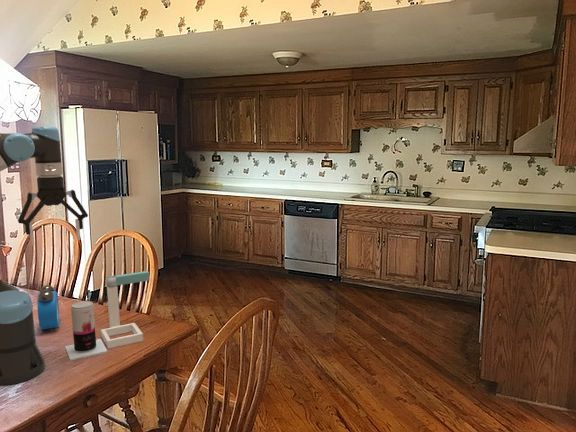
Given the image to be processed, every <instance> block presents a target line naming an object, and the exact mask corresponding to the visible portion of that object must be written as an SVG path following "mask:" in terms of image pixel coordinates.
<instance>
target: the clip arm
mask: <svg viewBox="0 0 576 432" xmlns="http://www.w3.org/2000/svg"><path fill="white" fill-rule="evenodd" d="M147 281H150V272H149V271H148V270H143V271H139V272H130V273H124V274H117V275H108V276H106V277H105V283H106V285H105V286H106V288H107V287H113V286H117V287H118V286H122V285H128V284H136V283H141V282H147Z"/></svg>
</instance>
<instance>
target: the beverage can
mask: <svg viewBox="0 0 576 432" xmlns="http://www.w3.org/2000/svg"><path fill="white" fill-rule="evenodd" d="M94 309H95V307H94V303H93V301H92V300H91V301H90V300H82V301H81V300H80V301H76V302H74V303H72V304H71V308H70V311H71V321H72V324H71V325H72V336H73V344H74V349H75V350H76V351H77V352H88V351H91V350H93V349H94V348H95V347H96V339H97V337H96V323H95V310H94Z"/></svg>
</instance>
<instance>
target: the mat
mask: <svg viewBox="0 0 576 432" xmlns="http://www.w3.org/2000/svg"><path fill="white" fill-rule="evenodd" d="M102 340H103V339H101V338H96V347H95V348H94V349H93V350H91V351H88V352H77V351H76V350H75V349H74V343H73V344H69V345H65V350H66V353H67V355H68V356H67V357H68V359H69V362H72V361H76V360H81V359H85V358H88V357H89V358H90V357H94V356H98V355H102V354H107V353H108V348H107V347H106V346H105V343H104V341H102Z"/></svg>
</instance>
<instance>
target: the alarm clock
mask: <svg viewBox="0 0 576 432" xmlns="http://www.w3.org/2000/svg"><path fill="white" fill-rule="evenodd" d="M36 299H37V303H36V304H37V318H38V324H39V326H38V327H39V329H40V330H41V331H42V330H48V329H54V328H55V330H56V331H57V329H58V328H59V326H60V307H59V305H60V304H59V296H58V292H57V290H56V289H55V288H54V286H52V285H47V284H46V285H43V286H41V287H40V289H39V292H38V294H37V298H36Z"/></svg>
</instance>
